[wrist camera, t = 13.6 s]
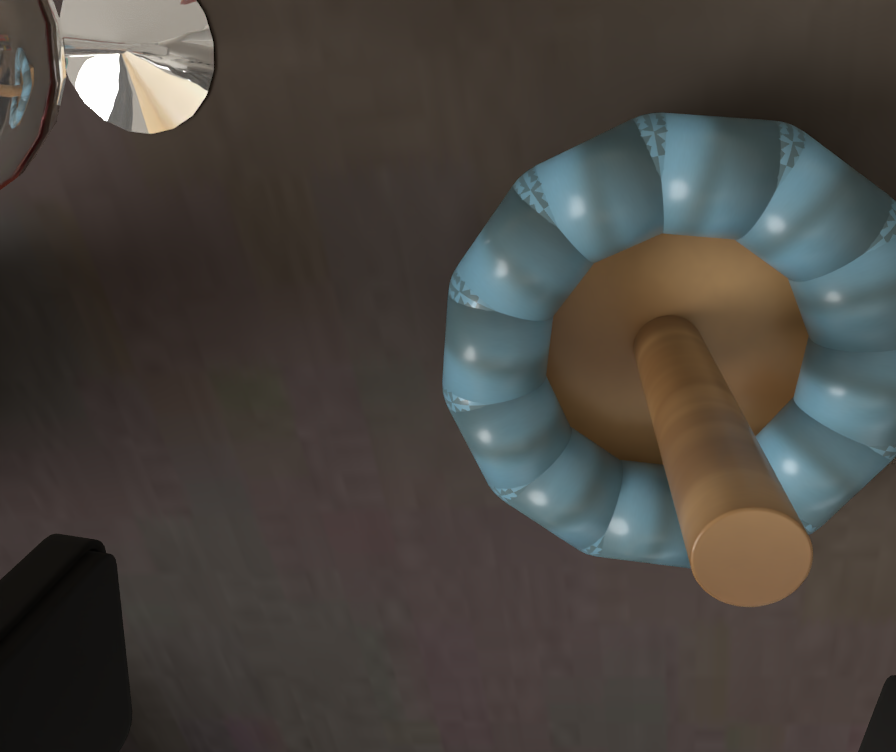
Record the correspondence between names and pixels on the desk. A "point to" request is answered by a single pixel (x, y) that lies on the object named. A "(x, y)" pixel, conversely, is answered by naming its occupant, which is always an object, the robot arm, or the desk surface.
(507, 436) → the ring
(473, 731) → the desk surface
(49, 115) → the wineglass
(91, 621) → the robot arm
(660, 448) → the peg stand
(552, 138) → the desk surface
